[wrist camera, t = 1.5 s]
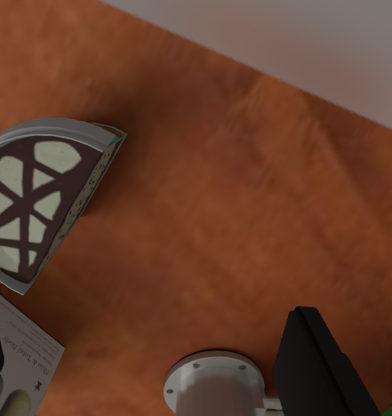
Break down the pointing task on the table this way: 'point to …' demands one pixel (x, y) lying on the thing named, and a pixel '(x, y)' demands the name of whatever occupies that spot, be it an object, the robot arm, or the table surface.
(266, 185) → the table surface
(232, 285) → the table surface
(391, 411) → the hardback book
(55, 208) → the food container
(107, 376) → the table surface
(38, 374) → the supplement box
